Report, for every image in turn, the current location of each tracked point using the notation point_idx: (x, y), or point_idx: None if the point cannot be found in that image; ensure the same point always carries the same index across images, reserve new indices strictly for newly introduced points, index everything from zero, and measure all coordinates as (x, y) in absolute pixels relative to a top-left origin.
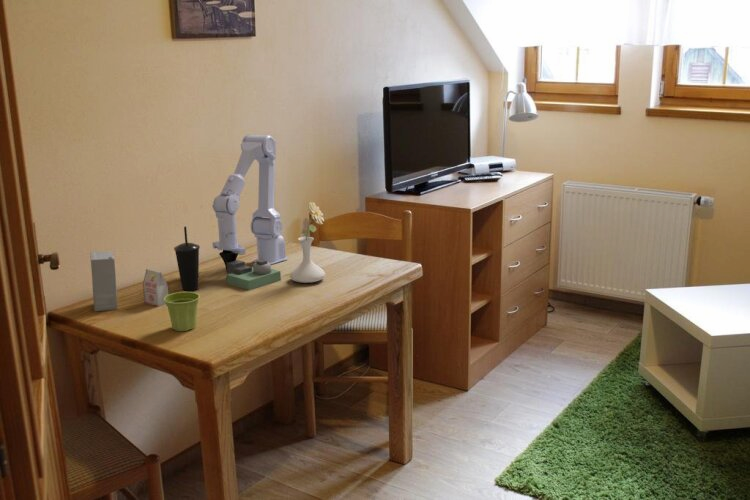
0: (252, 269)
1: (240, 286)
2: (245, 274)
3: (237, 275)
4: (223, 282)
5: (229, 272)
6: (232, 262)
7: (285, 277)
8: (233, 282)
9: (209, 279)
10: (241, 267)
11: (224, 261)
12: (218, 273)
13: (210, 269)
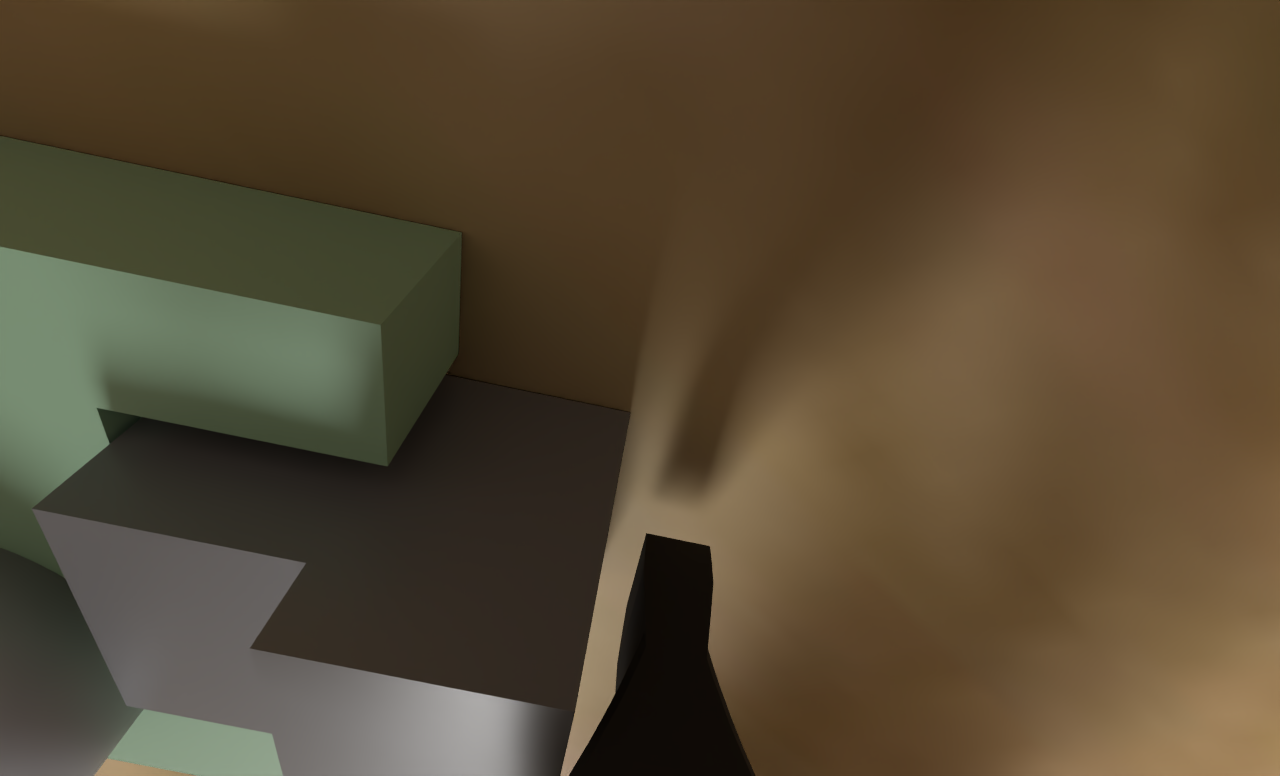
0: None
1: (4, 146)
2: (54, 470)
3: (95, 361)
4: (577, 257)
5: (528, 499)
6: (468, 759)
7: None
8: (200, 206)
9: (990, 294)
10: (245, 650)
11: (709, 768)
12: (1002, 588)
13: (1245, 680)
